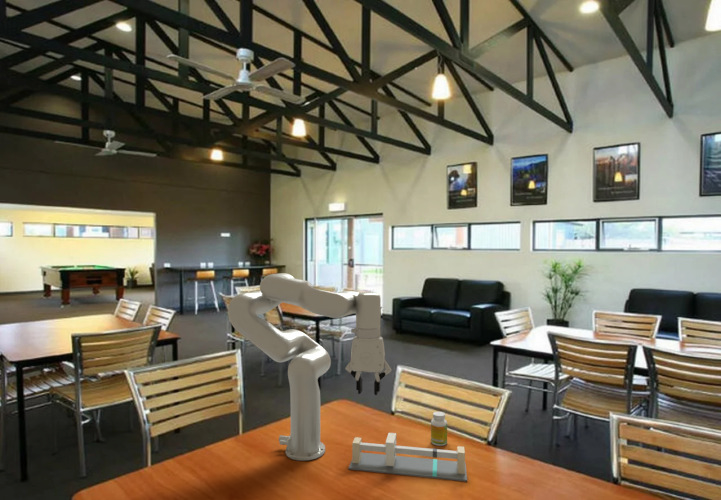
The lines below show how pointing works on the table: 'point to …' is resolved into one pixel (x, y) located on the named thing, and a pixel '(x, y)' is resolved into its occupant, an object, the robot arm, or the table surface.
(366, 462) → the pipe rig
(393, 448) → the white block
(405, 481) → the table surface
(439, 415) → the supplement bottle
